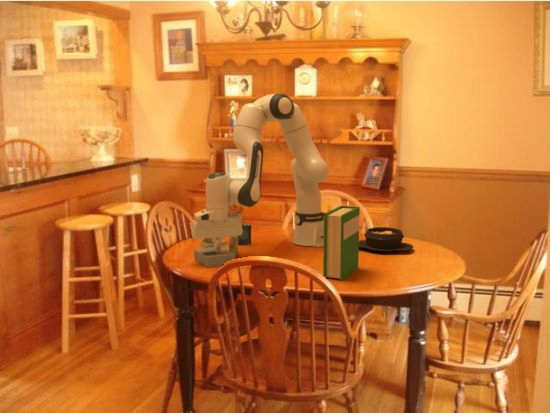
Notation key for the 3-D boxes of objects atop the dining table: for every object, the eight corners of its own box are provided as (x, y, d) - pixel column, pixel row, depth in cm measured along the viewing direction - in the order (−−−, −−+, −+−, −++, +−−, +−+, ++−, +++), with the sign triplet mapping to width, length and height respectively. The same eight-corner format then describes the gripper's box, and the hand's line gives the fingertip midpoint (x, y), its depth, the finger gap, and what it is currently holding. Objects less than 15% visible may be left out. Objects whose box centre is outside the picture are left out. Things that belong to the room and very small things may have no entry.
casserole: (350, 252, 245) (350, 233, 243) (359, 242, 262) (359, 224, 260) (410, 257, 236) (411, 237, 235) (415, 246, 254) (416, 228, 252)
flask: (231, 246, 256) (231, 222, 254) (230, 244, 259) (230, 221, 257) (251, 244, 259) (251, 220, 257) (250, 242, 262) (249, 219, 260)
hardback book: (342, 281, 206) (343, 215, 201) (323, 278, 209) (324, 213, 204) (358, 268, 221) (359, 207, 217) (339, 266, 224) (341, 205, 220)
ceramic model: (197, 243, 262) (197, 221, 260) (221, 241, 266) (221, 219, 264) (205, 250, 249) (205, 227, 247) (230, 248, 253) (230, 225, 251)
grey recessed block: (221, 255, 240) (221, 246, 240) (235, 263, 228) (235, 253, 228) (194, 259, 235) (194, 249, 234) (207, 267, 223) (207, 257, 222)
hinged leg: (216, 246, 238) (215, 239, 237) (223, 246, 239) (223, 239, 238) (221, 253, 227) (221, 246, 227) (228, 253, 228) (228, 245, 228)
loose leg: (235, 254, 242) (235, 235, 241) (239, 256, 239) (239, 237, 237) (227, 255, 240) (227, 236, 239) (231, 257, 237) (230, 238, 236)
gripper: (239, 210, 234) (239, 244, 237) (190, 214, 227) (190, 248, 229) (244, 213, 228) (244, 247, 231) (194, 216, 221) (194, 252, 223)
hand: (217, 248), depth 230 cm, fingers closed
